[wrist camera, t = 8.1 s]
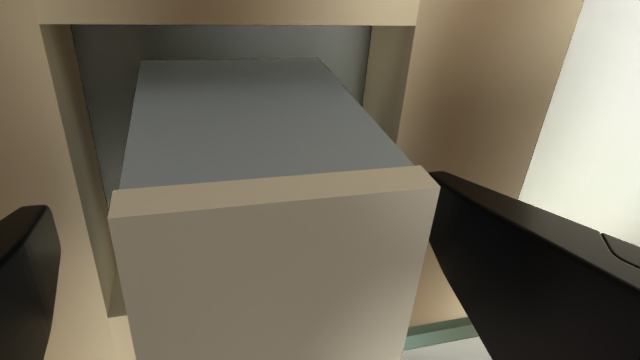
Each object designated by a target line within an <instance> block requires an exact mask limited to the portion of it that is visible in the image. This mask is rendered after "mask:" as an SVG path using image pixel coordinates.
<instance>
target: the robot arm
mask: <svg viewBox="0 0 640 360" xmlns="http://www.w3.org/2000/svg"><path fill="white" fill-rule="evenodd" d="M427 173H428V174H429V175H430V176H431V177H432V178H433V179H434V180H435V181H436V182H437V183H438V185H439V186H440V187H441V188H440V192H439V197H438V201H437V205H436V210H435V214H434V218H433V223H432V227H431V231H430V236H429V243H430V245H431V247H432V250H433V252H434V254H435V257H436V259H437V261H438V263H439V266H440V268H441V270H442V272H443V274H444V276H445V277H446V279H447V281H448V283H449V285H450V286H451V288H452V290H453V292H454V293H455V295H456V297H457V299H458V300H459V302H460V304H461V306H462V307H463V309H464V311H465V313H466V314H467V316H468V318H469V320H470V321H471V323H472V325H473V327H474V328H475V330H476V332H477V334H478V335H479V337H480V339H481V340H482V342H483V344H484V346H485V347H486V349H487V351H488V353H489V354H490V356H491V358H492V360H640V247H638V246H636V245H633V244H630V243H628V242H625V241H622V240H620V239H617V238H615V237H612V236H610V235H607V234H605V233H601V234H600V232H599V231H597V230H594V229H591V228H589V227H586V226H584V225H581V224H579V223H576V222H573V221H571V220H568V219H566V218H563V217H561V216H558V215H555V214H553V213H550V212H548V211H545V210H543V209H540V208H538V207H535V206H532V205H530V204H527V203H525V202H522V201H520V200H517V199H514V198H512V197H509V196H507V195H504V194H502V193H499V192H496V191H494V190H491V189H489V188H486V187H484V186H481V185H478V184H476V183H473V182H471V181H468V180H466V179H463V178H460V177H458V176H455V175H453V174H450V173H448V172H445V171H433V172H427ZM60 258H61V245H60V240H59V236H58V233H57V229H56V225H55V222H54V218H53V214H52V211H51V209H50V208H49V206H47V205H43V204H42V205H30V206H22V207H20V208H18V209H17V210H15V211H14V212H12V213H11V214H9V215H8V216H6V217H5V218H3V219H1V220H0V360H44V356H45V353H46V349H47V345H48V341H49V337H50V333H51V328H52V321H53V314H54V306H55V298H56V290H57V282H58V274H59V266H60Z"/></svg>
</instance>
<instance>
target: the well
mask: <svg viewBox="0 0 640 360" xmlns="http://www.w3.org/2000/svg"><path fill="white" fill-rule="evenodd" d="M583 2H584V0H0V220H1V219H3V218H5V217H6V216H8V215H9V214H11V213H12V212H14V211H15V210H17V209H18V208H20V207H22V206H30V205H42V204H43V205H47V206H49V208H50V209H51V211H52V214H53V218H54V222H55V225H56V229H57V233H58V236H59V240H60V245H61V258H60V266H59V274H58V282H57V290H56V298H55V306H54V314H53V321H52V328H51V333H50V337H49V341H48V345H47V349H46V353H45V356H44V360H136V356H135V351H134V347H133V342H132V337H131V332H130V327H129V322H128V317H127V312H126V307H125V303H124V298H123V293H122V288H121V283H120V278H119V273H118V268H117V263H116V258H115V254H114V249H113V244H112V239H111V234H110V229H109V224H108V219H107V218H108V210H107V205H106V200H105V195H104V190H103V185H102V180H101V175H100V170H99V165H98V160H97V155H96V150H95V145H94V140H93V135H92V130H91V125H90V120H89V116H88V111H87V106H86V101H85V96H84V91H83V86H82V81H81V76H80V71H79V66H78V61H77V56H76V51H75V46H74V41H73V36H72V31H71V26H70V24H138V25H372V31H371V40H370V48H369V57H368V65H367V74H366V82H365V91H364V99H363V108H364V110H365V111H366V112H367V113H368V114H369V115H370V116H371V117H372V119H373V120H374V121H375V122H376V123H377V124H378V125H379V126H380V128H381V129H382V130H383V131H384V132H385V133H386V134H387V135H388V137H389V138H390V139H391V140H392V141H393V142H394V143H395V144H396V145H397V147H398V148H399V149H400V150H401V151H402V152H403V153H404V154H405V156H406V157H407V158H408V159H409V160H410V161H411V162H412V163H413V165H414V166H418V165H421V166H422V167H423V168H424V169H425V170H426V171H427V172H433V171H445V172H448V173H450V174H453V175H455V176H458V177H460V178H463V179H466V180H468V181H471V182H473V183H476V184H478V185H481V186H484V187H486V188H489V189H491V190H494V191H496V192H499V193H502V194H504V195H507V196H509V197H512V198H514V199H517V200H518V198H519V195H520V192H521V189H522V186H523V183H524V180H525V177H526V174H527V171H528V168H529V165H530V162H531V159H532V156H533V153H534V149H535V146H536V143H537V140H538V137H539V134H540V131H541V128H542V125H543V122H544V119H545V116H546V113H547V110H548V107H549V104H550V101H551V98H552V95H553V92H554V89H555V86H556V83H557V80H558V77H559V74H560V71H561V68H562V65H563V62H564V59H565V56H566V53H567V50H568V47H569V44H570V41H571V38H572V35H573V32H574V29H575V26H576V23H577V20H578V17H579V14H580V11H581V8H582V5H583ZM478 336H479V335H478V334H477V332H476V330H475V328H474V327H473V325H472V323H471V321H470V320H469V318H468V316H467V314H466V313H465V311H464V309H463V307H462V306H461V304H460V302H459V300H458V299H457V297H456V295H455V293H454V292H453V290H452V288H451V286H450V285H449V283H448V281H447V279H446V277H445V276H444V274H443V272H442V270H441V268H440V266H439V263H438V261H437V259H436V257H435V254H434V252H433V250H432V247H431V245H430V243H429V240H428V245H427V249H426V253H425V258H424V262H423V266H422V271H421V275H420V279H419V284H418V288H417V292H416V297H415V301H414V305H413V310H412V314H411V319H410V323H409V327H408V332H407V336H406V340H405V345H404V349H403V351H405V350H410V349H415V348H420V347H426V346H431V345H436V344H441V343H446V342H452V341H457V340H462V339H467V338H472V337H478Z"/></svg>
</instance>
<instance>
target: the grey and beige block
mask: <svg viewBox="0 0 640 360" xmlns="http://www.w3.org/2000/svg"><path fill="white" fill-rule="evenodd" d="M440 188H441V187H440V186H439V185H438V183H437V182H436V181H435V180H434V179H433V178H432V177H431V176H430V175H429V174H428V173H427V171H426V170H425V169H424V168H423V167H422V166H421V165H418V166H414V165H413V163H412V162H411V161H410V160H409V159H408V158H407V157H406V156H405V154H404V153H403V152H402V151H401V150H400V149H399V148H398V147H397V145H396V144H395V143H394V142H393V141H392V140H391V139H390V138H389V137H388V135H387V134H386V133H385V132H384V131H383V130H382V129H381V128H380V126H379V125H378V124H377V123H376V122H375V121H374V120H373V119H372V117H371V116H370V115H369V114H368V113H367V112H366V111H365V110H364V108H363V107H362V106H361V105H360V104H359V103H358V102H357V101H356V100H355V98H354V97H353V96H352V95H351V94H350V93H349V92H348V91H347V89H346V88H345V87H344V86H343V85H342V84H341V83H340V82H339V80H338V79H337V78H336V77H335V76H334V75H333V74H332V73H331V71H330V70H329V69H328V68H327V67H326V66H325V65H324V64H323V63H322V61H321V60H320V59H319V58H276V59H207V60H141V62H140V68H139V74H138V80H137V85H136V91H135V97H134V103H133V109H132V114H131V120H130V126H129V132H128V138H127V143H126V149H125V155H124V161H123V167H122V172H121V178H120V184H119V190H113V192H112V197H111V202H110V207H109V213H108V218H107V219H108V224H109V229H110V234H111V239H112V244H113V249H114V254H115V258H116V263H117V268H118V273H119V278H120V283H121V288H122V293H123V298H124V303H125V307H126V312H127V317H128V322H129V327H130V332H131V337H132V342H133V347H134V351H135V356H136V360H401V358H402V353H403V349H404V345H405V340H406V336H407V332H408V327H409V323H410V319H411V314H412V310H413V305H414V301H415V297H416V292H417V288H418V284H419V279H420V275H421V271H422V266H423V262H424V258H425V253H426V249H427V245H428V240H429V236H430V231H431V227H432V223H433V218H434V214H435V210H436V205H437V201H438V197H439V192H440Z"/></svg>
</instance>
